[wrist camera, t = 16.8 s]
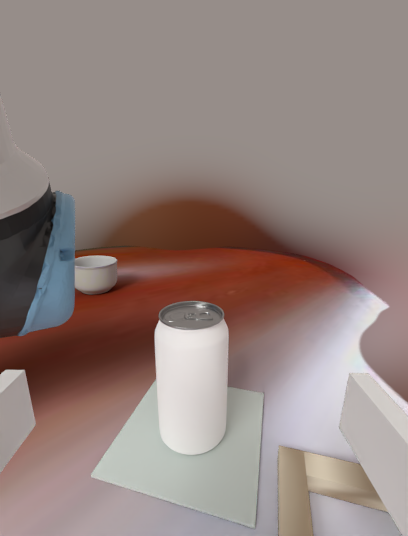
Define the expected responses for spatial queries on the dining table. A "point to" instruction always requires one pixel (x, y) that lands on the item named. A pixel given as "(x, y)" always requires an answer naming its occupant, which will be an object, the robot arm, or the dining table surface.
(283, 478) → the holder
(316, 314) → the dining table surface
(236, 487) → the mat
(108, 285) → the teacup
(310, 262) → the dining table surface
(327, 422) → the dining table surface
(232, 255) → the dining table surface
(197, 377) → the can
